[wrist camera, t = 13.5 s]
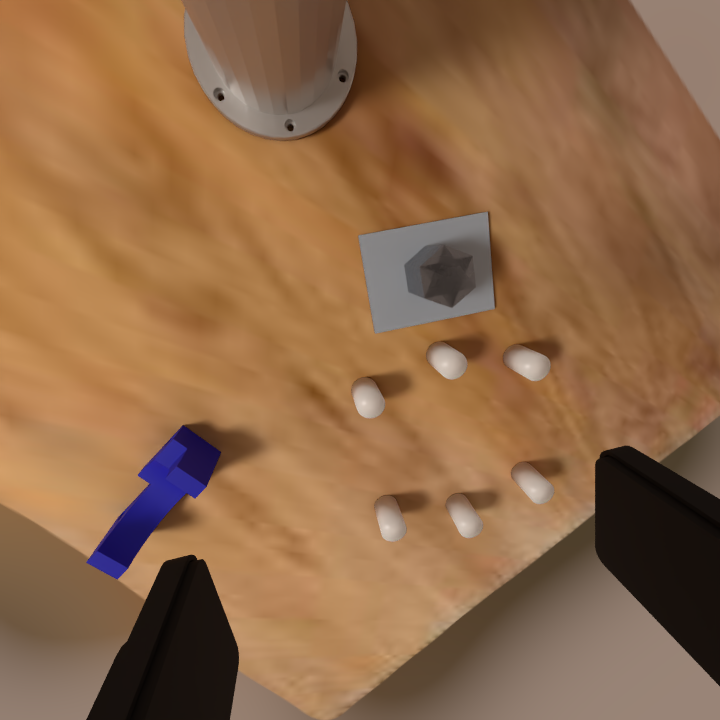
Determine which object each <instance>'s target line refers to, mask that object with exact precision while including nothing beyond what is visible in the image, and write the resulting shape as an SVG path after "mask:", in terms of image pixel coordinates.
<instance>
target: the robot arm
mask: <svg viewBox="0 0 720 720" xmlns="http://www.w3.org/2000/svg"><path fill="white" fill-rule="evenodd" d="M181 1H182V3H183V5H184V7H185V13H184V37H185V42H186V48H187V54H188V57H189V60H190V63H191V66H192V69H193V71H194V74H195V76H196V78H197V80H198V82H199V83H200V85H201V87H202V89H203V91H204V92H205V94H206V95H207V97H208V98H209V100H210V101H211V103H212V104H213V105H214V106H215V107H216V108H217V109H218V110H219V112H220V113H221V114H222V115H223V116H224V117H225V118H227V119H228V120H229V121H230V122H232V123H233V124H234V125H236V126H237V127H239V128H240V129H242V130H244V131H246V132H248V133H250V134H252V135H255V136H258V137H261V138H264V139H269V140H279V141H285V140H294V139H299V138H302V137H305V136H308V135H311V134H312V133H314V132H316V131H317V130H319V129H321V128H322V127H324V126H325V125H326V124H327V123H328V122H329V121H330V120H331V119H332V118H333V117H334V116H335V115H336V114H337V112H338V111H339V109H340V108H341V107H342V105H343V104H344V102H345V99H346V97H347V95H348V93H349V91H350V88H351V85H352V82H353V78H354V73H355V68H356V62H357V37H356V30H355V23H354V19H353V16H352V13H351V10H350V7H349V4H348V1H347V0H181ZM341 77H342V78H344V79H345V82H341V81H339V79H340V78H341ZM221 95H222V96H224V100H222V101H219V100H218V98H219V96H221ZM288 126H293V127H294V130H293V131H289V130H288V129H287V128H288ZM595 548H596V552H597V555H598V557H599V559H600V560H601V562H602V563H603V564H604V566H605V567H606V568H607V569H608V570H609V571H610V572H611V573H612V574H613V575H614V576H615V577H616V578H617V579H618V580H619V581H620V582H621V583H622V584H623V586H624V587H626V589H627V590H628V591H629V592H630V593H631V594H632V595H633V596H634V597H635V598H636V599H637V600H638V601H639V602H640V603H641V604H642V605H643V606H644V607H645V608H646V609H647V611H648V612H649V613H650V614H651V615H652V616H653V617H654V618H655V619H656V620H657V621H658V622H659V623H660V624H661V625H662V626H663V627H664V628H665V629H666V630H667V632H668V633H669V634H670V635H671V636H672V637H673V638H674V639H675V640H676V641H677V642H678V643H679V644H680V645H681V646H682V647H683V648H684V649H685V650H686V651H687V652H688V653H689V655H691V657H692V658H693V659H694V660H695V661H696V662H697V663H698V664H699V665H700V666H701V667H702V668H703V669H704V670H705V671H706V672H707V673H708V674H709V675H710V677H711V678H712V679H713V680H714V681H715V682H716V683H717V684H718V685H719V686H720V499H718V498H717V497H715V496H714V495H712V494H710V493H708V492H707V491H705V490H704V489H702V488H700V487H698V486H696V485H695V484H693V483H692V482H690V481H688V480H687V479H685V478H683V477H682V476H680V475H678V474H677V473H675V472H673V471H672V470H670V469H668V468H667V467H665V466H663V465H662V464H660V463H658V462H656V461H655V460H653V459H651V458H650V457H648V456H646V455H645V454H643V453H641V452H640V451H638V450H636V449H635V448H633V447H630V446H622V447H618V448H614V449H610V450H606V451H603V452H602V453H601V454H600V458H599V459H598V460H597V461H596V464H595ZM238 665H239V652H238V646H237V643H236V641H235V638H234V635H233V633H232V630H231V627H230V625H229V622H228V620H227V617H226V614H225V612H224V609H223V606H222V604H221V601H220V599H219V596H218V593H217V591H216V588H215V585H214V583H213V580H212V578H211V575H210V572H209V570H208V567H207V565H206V562H205V561H204V560H203V559H201V560H197V558H196V557H195V556H194V555H188V556H184V557H180V558H176V559H172V560H168V561H166V562H164V563H163V565H162V566H161V568H160V571H159V573H158V575H157V577H156V579H155V582H154V584H153V586H152V588H151V590H150V592H149V595H148V597H147V599H146V601H145V603H144V606H143V608H142V610H141V612H140V614H139V617H138V619H137V621H136V623H135V625H134V627H133V630H132V632H131V634H130V636H129V639H128V641H127V642H126V643H125V644H124V645H123V646H122V647H121V649H120V650H119V652H118V654H117V656H116V657H115V659H114V662H113V664H112V666H111V668H110V670H109V673H108V674H107V677H106V679H105V681H104V683H103V685H102V687H101V690H100V692H99V694H98V696H97V698H96V700H95V702H94V704H93V707H92V709H91V711H90V713H89V715H88V718H87V719H86V720H230V715H231V709H232V703H233V696H234V690H235V684H236V678H237V672H238Z"/></svg>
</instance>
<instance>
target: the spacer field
mask: <svg viewBox="0 0 720 720" xmlns="http://www.w3.org/2000/svg"><path fill="white" fill-rule="evenodd" d="M426 358H427V361H428V362H429V364H431V365H432V366H433V367H434V368H435V369H436V370H437V371H438V372H439V373H441V374H442V375H443V376H444V377H445V378H447V379H457V378H459V377H460V376H462V375H463V374H464V373H465V371H466V369H467V359H466V357H465V356H464V355H463V354H462V353H460V352H459V351H457V350H456V349H454V348H452V347H451V346H449V345H448V344H446V343H444V342H435V343H433V344H432V345H430V346H429V348H428V349H427V352H426ZM503 361H504V364H505V365H506V366H507V367H508V368H510V369H512V370H514V371H515V372H517V373H519V374H521V375H522V376H524V377H526V378H528V379H529V380H532V381H539V380H541V379H543V378H544V377H545V376H546V375H547V374H548V373H549V370H550V361H549V359H548V358H547V357H546V356H545V355H542V354H540V353H538V352H535V351H533V350H531V349H529V348H526V347H524V346H522V345H519V344H515V345H512V346H510V347H508V348H507V349H506V351H505V352H504V355H503ZM351 392H352V395H353V398H354V401H355V404H356V407H357V410H358V412H359V414H360V415H361V416H363V417H365V418H375V417H377V416H379V415H380V414H381V413H382V412H383V410H384V408H385V400H384V398H383V396H382V394H381V392H380V390H379V389H378V387H377V385H376V383H375V382H374V381H373V380H372V379H371V378H368V377H362V378H359V379H357V380H356V381H355V382H354V383H353V385H352V388H351ZM511 477H512V479H513V480H514V481H515V482H516V483H517V484H518V485H519V487H520V488H521V489H522V490H523V491H524V492H525V493H526V494H527V495H528V496H529V498H530V499H531V500H532V501H533V502H534V503H537V504H543V503H546V502H548V501H549V500H550V499H551V498H552V496H553V494H554V487H553V486H552V484H550V483H549V482H548V481H547V480H546V479H545V478H544V477H543V476H542V475H541V474H540V473H539V472H538V471H537V470H536V469H535V468H534V467H532V466H531V465H530V464H529V463H527V462H520V463H518V464H516V465H515V466H514V467H513V469H512V471H511ZM374 508H375V512H376V515H377V519H378V523H379V527H380V530H381V534H382V537H383V538H384V539H385V540H387V541H392V542H393V541H398V540H400V539H401V538H403V537H404V535H405V534H406V530H407V528H406V525H405V522H404V519H403V516H402V514H401V511H400V508H399V506H398V503H397V500H396V499H395V498H394V497H393V496H389V495H385V496H382V497H380V498H379V499H377V501H376V502H375V505H374ZM446 508H447V510H448V512H449V514H450V516H451V517H452V519H453V521H454V523H455V525H456V527H457V528H458V530H459V532H460V534H461V535H462V536H463V537H466V538H472V537H475V536H477V535H478V534H479V533H480V532H481V531H482V529H483V522H482V520H481V519H480V517H479V516H478V514H477V513H476V511H475V510H474V508H473V507H472V505H471V504H470V502H469V501H468V499H467V497H466V496H465V495H463V494H460V493H457V494H453V495H451V496H450V497H449V498H448V499H447V501H446Z"/></svg>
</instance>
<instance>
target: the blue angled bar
mask: <svg viewBox="0 0 720 720" xmlns="http://www.w3.org/2000/svg"><path fill="white" fill-rule="evenodd" d="M220 454H221V452H220V451H219V450H217V449H216V448H215V447H213V446H212V445H210V444H209V443H208V442H206V441H205V440H203V439H202V438H201V437H199V436H198V435H196V434H195V433H194V432H192V431H191V430H189V429H188V428H187V427H185V426H184V425H183V426H182V427H181V428H180V429H179V430H178V431H177V432H176V433H175V434H174V435H173V437H172V438H171V439H170V440H169V441H168V442H167V443H166V444H165V445H164V446H163V447H162V448H161V449H160V451H159V452H158V453H157V454H156V455H155V456H154V457H153V458H152V459H151V460H150V461H149V462H148V463H147V464H146V466H145V467H144V468H143V469H142V470H141V472H140V473H139V474H138V476H139V477H141V478H142V479H144V480H145V481H147V482H148V483H150V484H149V485H148V486H147V487H146V488H145V489H144V490H143V491H142V493H141V494H140V495H139V496H138V497H137V498H136V499H135V500H134V501H133V502H132V503H131V504H130V505H129V506H128V507H127V509H126V510H125V511H124V512H123V513H122V514H121V515H120V516H119V517H118V518H117V520H116V521H115V523H114V524H113V525H112V527H111V528H110V530H109V531H108V533H107V534H106V535H105V537H104V538H103V540H102V541H101V542H100V544H99V545H98V547H97V548H96V549H95V551H94V552H93V554H92V555H91V556H90V558H89V559H88V561H87V563H88V564H90V565H92V566H94V567H95V568H97V569H99V570H101V571H103V572H104V573H106V574H108V575H110V576H112V577H114V578H115V579H118V578H119V577H120V576H121V575H122V574H123V573H124V572H125V571H126V570H127V569H128V568H129V566H130V564H131V563H132V561H133V559H134V558H135V556H136V555H137V553H138V552H139V550H140V549H141V547H142V546H143V544H144V543H145V541H146V540H147V539H148V537H149V536H150V534H151V533H152V532H153V530H154V529H155V528H156V527H157V525H158V524H159V523H160V521H161V520H162V519H163V518H164V517H165V515H166V514H167V513H168V512H169V511H170V510H171V508H172V507H173V506H174V505H175V504H176V503H177V502H178V501H179V500H180V499H181V498H182V497H183V496H184V495H185V494H186V493H187V494H189V495H190V496H192V497H193V498H196V497H197V496H198V495H199V494H200V493H201V492H202V491H203V490H204V489H205V488H206V487H207V484H208V482H209V480H210V477H211V475H212V473H213V470H214V468H215V466H216V463H217V461H218V459H219V456H220Z"/></svg>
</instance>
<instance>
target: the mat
mask: <svg viewBox="0 0 720 720" xmlns="http://www.w3.org/2000/svg"><path fill="white" fill-rule="evenodd" d="M358 237H359V243H360V249H361V255H362V261H363V267H364V273H365V278H366V284H367V290H368V296H369V302H370V308H371V314H372V320H373V325H374V331H375V334H376V333H380V332H385V331H390V330H395V329H400V328H405V327H409V326H414V325H419V324H424V323H429V322H434V321H438V320H443V319H448V318H453V317H458V316H462V315H467V314H472V313H477V312H482V311H487V310H491V309H495V306H494V292H493V278H492V264H491V250H490V237H489V223H488V212H484V213H478V214H473V215H467V216H462V217H457V218H451V219H446V220H440V221H435V222H429V223H424V224H419V225H413V226H408V227H402V228H397V229H392V230H386V231H381V232H375V233H370V234H365V235H359V236H358ZM431 245H446V246H449V247H451V248H454V249H457V250H459V251H462V252H464V253H467V254H470V255H472V256H473V263H474V273H475V283H476V288H474V289H473V290H472V291H471V292H470V293H469V294H468V295H467V296H465V297H464V298H463V299H462V300H461V301H460V302H459V303H457V304H456V305H455V306H454V307H453V308H450V307H448V306H445V305H442V304H439V303H436V302H433V301H430V300H427V299H424V298H422V297H419V296H417V295H414V294H412V293H409V292H408V287H407V280H406V274H405V267H404V264H406V263H407V262H408V261H409V260H410V259H411V258H412V257H413V256H414V255H415V254H417V253H418V252H419V251H420V250H421V249H422V248H423V247H424V246H431Z"/></svg>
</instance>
